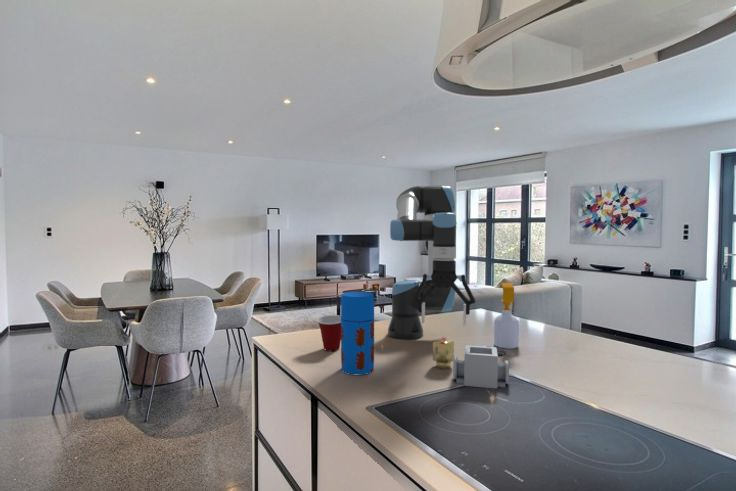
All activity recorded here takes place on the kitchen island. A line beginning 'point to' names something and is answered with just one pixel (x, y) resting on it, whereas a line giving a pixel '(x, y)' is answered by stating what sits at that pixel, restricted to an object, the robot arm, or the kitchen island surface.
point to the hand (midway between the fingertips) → (443, 323)
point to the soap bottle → (506, 322)
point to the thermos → (357, 332)
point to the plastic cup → (330, 331)
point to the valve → (443, 352)
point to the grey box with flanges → (481, 368)
